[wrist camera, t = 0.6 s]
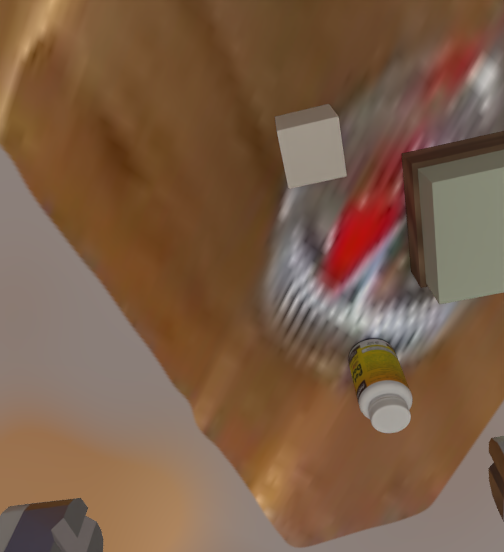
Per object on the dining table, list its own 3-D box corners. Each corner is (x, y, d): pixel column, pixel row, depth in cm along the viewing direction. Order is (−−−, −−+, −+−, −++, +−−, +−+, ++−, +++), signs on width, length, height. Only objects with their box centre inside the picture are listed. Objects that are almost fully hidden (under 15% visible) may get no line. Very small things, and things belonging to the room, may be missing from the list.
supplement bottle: (347, 337, 55) (364, 400, 46) (396, 335, 55) (422, 397, 46) (346, 374, 58) (362, 440, 49) (392, 372, 58) (416, 438, 49)
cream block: (274, 116, 43) (276, 130, 38) (328, 103, 43) (338, 116, 38) (285, 168, 46) (288, 189, 41) (336, 157, 45) (346, 176, 40)
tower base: (400, 152, 45) (411, 163, 42) (542, 120, 44) (567, 129, 40) (409, 269, 51) (420, 287, 48) (535, 245, 50) (555, 262, 46)
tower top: (417, 168, 42) (432, 182, 39) (560, 137, 41) (588, 148, 37) (426, 283, 48) (439, 304, 44) (551, 258, 46) (575, 278, 43)
